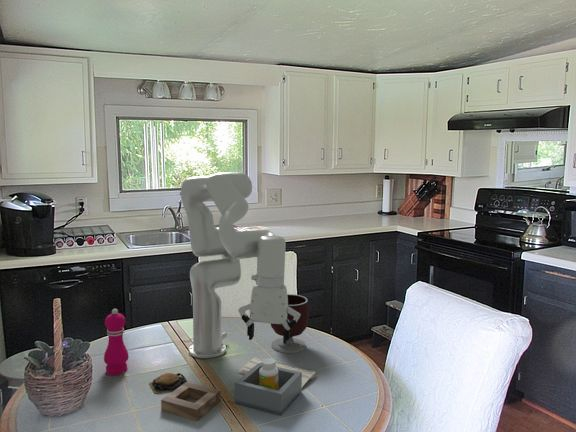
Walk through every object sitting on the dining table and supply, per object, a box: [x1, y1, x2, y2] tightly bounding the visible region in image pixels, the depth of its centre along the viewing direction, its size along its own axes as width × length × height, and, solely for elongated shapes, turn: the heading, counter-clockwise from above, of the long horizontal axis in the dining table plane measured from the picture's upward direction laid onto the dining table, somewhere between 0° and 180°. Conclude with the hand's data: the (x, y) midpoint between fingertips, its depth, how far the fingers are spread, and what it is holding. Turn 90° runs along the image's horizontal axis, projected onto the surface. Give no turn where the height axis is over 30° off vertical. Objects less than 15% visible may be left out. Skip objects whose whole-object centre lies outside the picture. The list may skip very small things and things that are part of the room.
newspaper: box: [238, 357, 317, 388], centre depth 154 cm, size 23×12×2 cm, turn 62°
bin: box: [234, 363, 303, 416], centre depth 139 cm, size 14×14×6 cm
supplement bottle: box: [259, 357, 279, 390], centre depth 138 cm, size 5×5×10 cm
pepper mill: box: [103, 308, 129, 376], centre depth 152 cm, size 7×7×20 cm
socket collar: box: [160, 381, 222, 422], centre depth 134 cm, size 11×11×3 cm
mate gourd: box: [270, 293, 310, 354], centre depth 173 cm, size 16×14×20 cm
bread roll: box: [148, 372, 188, 395], centre depth 145 cm, size 11×8×4 cm
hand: (268, 339), depth 137 cm, fingers open, 9 cm apart
